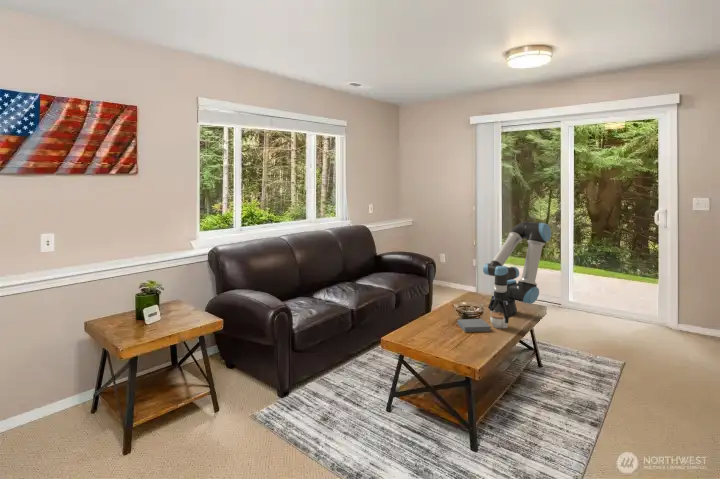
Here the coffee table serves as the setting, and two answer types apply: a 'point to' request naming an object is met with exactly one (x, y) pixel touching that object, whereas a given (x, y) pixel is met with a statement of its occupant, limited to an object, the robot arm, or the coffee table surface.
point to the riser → (473, 325)
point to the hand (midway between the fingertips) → (498, 324)
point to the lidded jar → (497, 319)
